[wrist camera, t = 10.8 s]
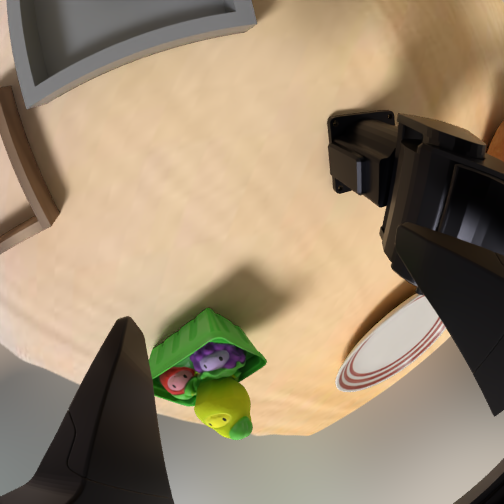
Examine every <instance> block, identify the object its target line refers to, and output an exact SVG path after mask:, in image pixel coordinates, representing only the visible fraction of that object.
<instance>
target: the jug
mask: <svg viewBox="0 0 504 504" xmlns="http://www.w3.org/2000/svg"><path fill="white" fill-rule="evenodd" d="M487 154H489V155H491V156H493V157H496V158H498V159H500V160H502V161H503V162H504V121H503V122H502V123H501V125H500V126H499V127H498V129H497V130H496V133H495V135H494V137H493V139H492V141H491V143H490V146H489V149H488V152H487Z"/></svg>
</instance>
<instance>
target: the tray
mask: <svg viewBox="0 0 504 504" xmlns="http://www.w3.org/2000/svg"><path fill="white" fill-rule="evenodd" d="M7 14H8V24H9V32H10V39H11V46H12V52H13V57H14V62H15V67H16V71H17V76H18V80H19V84H20V88H21V92H22V96H23V99H24V103H25V106H26V109H29V108H33V107H37V106H40V105H44V104H47V103H49V102H50V101H52V100H54V99H55V98H57V97H59V96H61V95H62V94H64V93H66V92H68V91H70V90H71V89H73V88H75V87H77V86H79V85H81V84H83V83H85V82H87V81H89V80H91V79H93V78H95V77H97V76H100V75H102V74H104V73H106V72H108V71H111V70H113V69H115V68H118V67H120V66H123V65H125V64H128V63H130V62H133V61H136V60H138V59H141V58H144V57H147V56H150V55H153V54H156V53H159V52H162V51H165V50H168V49H172V48H175V47H179V46H182V45H186V44H190V43H194V42H198V41H202V40H206V39H211V38H216V37H221V36H226V35H232V34H238V33H244V32H246V31H247V30H249V29H250V28H252V27H253V26H255V25H256V24H257V21H256V17H255V12H254V8H253V5H252V1H251V0H7Z"/></svg>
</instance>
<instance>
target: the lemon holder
mask: <svg viewBox="0 0 504 504" xmlns="http://www.w3.org/2000/svg"><path fill="white" fill-rule="evenodd" d="M0 134H1V137H2V140H3V143H4V146H5V148H6V151H7V154H8V156H9V159H10V161H11V164H12V166H13V169H14V171H15V174H16V176H17V178H18V180H19V183H20V185H21V187H22V189H23V191H24V193H25V196H26V198H27V200H28V202H29V204H30V206H31V208H32V210H33V212H34V214H35V215H36V216H34V217H32V218H30V219H29V220H27V221H25V222H23V223H22V224H20V225H18V226H17V227H15V228H13V229H12V230H10V231H9V232H7V233H5V234H4V235H2V236H1V237H0V254H2V253H3V252H5V251H7V250H8V249H10V248H12V247H14V246H15V245H17V244H19V243H21V242H22V241H24V240H26V239H28V238H30V237H32V236H34V235H35V234H37V233H39V232H41V231H43V230H45V229H47V228H49V227H51V226H52V224H53V223H54V221H55V220H56V219H57V217H58V216H59V214H60V213H59V211H58V209H57V207H56V205H55V203H54V201H53V199H52V197H51V195H50V193H49V191H48V188H47V186H46V184H45V182H44V180H43V177H42V175H41V173H40V170H39V168H38V166H37V163H36V161H35V158H34V156H33V153H32V151H31V148H30V145H29V143H28V140H27V137H26V134H25V132H24V129H23V126H22V123H21V120H20V116H19V113H18V110H17V106H16V103H15V99H14V96H13V92H12V88H11V86H7V87H1V88H0Z"/></svg>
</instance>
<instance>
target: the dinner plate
mask: <svg viewBox="0 0 504 504" xmlns="http://www.w3.org/2000/svg"><path fill="white" fill-rule="evenodd" d="M445 329H446V327H445V326H444V324H443V322H442V321H441V319H440V318H439V316H438V315H437V313H436V312H435V310H434V309H433V307H432V306H431V304H430V303H429V301H428V300H427V299H426V297H425V296H424V295H419V294H417V293H416V294H415V295H413V296H411V297H410V298H408V299H407V300H406V301H404V302H403V303H401V304H400V305H399V306H397V307H396V308H395V309H393V310H392V311H391V312H390V313H388V314H387V315H386V316H385V317H384V318H383V319H381V320H380V321H379V322H378V323H377V324H376V325H375V326H374V327H373V328H372V329H371V330H370V331H369V332H368V333H367V334H366V335H365V336H364V337H363V338H362V339H361V340H360V341H359V342H358V343H357V345H356V346H355V347H354V348H353V350H352V351H351V352H350V353H349V355H348V356H347V358H346V359H345V361H344V362H343V364H342V365H341V367H340V369H339V371H338V374H337V377H336V387H337V388H338V389H339V390H340V391H344V392H354V391H359V390H363V389H366V388H369V387H372V386H374V385H376V384H378V383H381V382H383V381H385V380H386V379H388V378H390V377H392V376H394V375H395V374H397V373H398V372H400V371H401V370H403V369H404V368H406V367H407V366H408V365H410V364H411V363H412V362H414V361H415V360H416V359H417V358H418V357H420V356H421V355H422V354H423V353H424V352H425V351H426V350H427V349H428V348H429V347H430V346H431V345H432V344H433V343H434V342H435V341H436V340H437V339H438V338H439V336H440V335H441V334H442V333H443V332H444V330H445Z"/></svg>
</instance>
